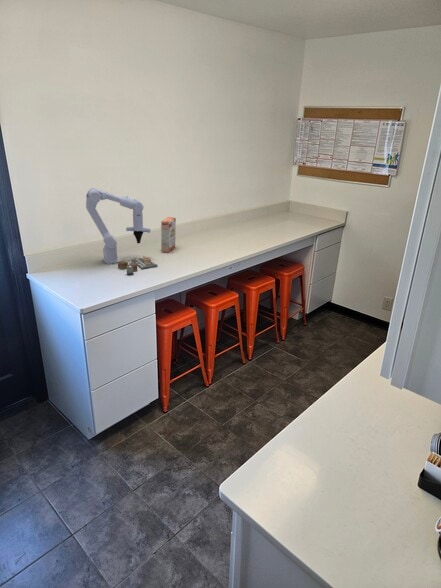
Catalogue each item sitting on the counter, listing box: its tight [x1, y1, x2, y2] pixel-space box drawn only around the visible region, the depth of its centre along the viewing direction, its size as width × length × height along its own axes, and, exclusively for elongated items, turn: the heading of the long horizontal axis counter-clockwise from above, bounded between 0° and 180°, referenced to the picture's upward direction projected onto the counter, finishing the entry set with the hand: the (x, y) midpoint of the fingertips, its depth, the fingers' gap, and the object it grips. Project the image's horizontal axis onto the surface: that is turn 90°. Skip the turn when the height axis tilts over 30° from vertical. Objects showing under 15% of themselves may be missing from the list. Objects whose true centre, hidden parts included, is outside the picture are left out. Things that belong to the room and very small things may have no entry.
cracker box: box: [160, 216, 177, 254], centre depth 265 cm, size 14×6×21 cm, turn 168°
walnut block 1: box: [117, 259, 129, 271], centre depth 233 cm, size 4×4×4 cm
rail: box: [131, 255, 159, 270], centre depth 241 cm, size 16×10×2 cm, turn 34°
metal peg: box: [126, 264, 134, 276], centre depth 224 cm, size 4×4×5 cm
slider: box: [141, 256, 152, 265], centre depth 238 cm, size 4×4×4 cm
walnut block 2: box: [128, 262, 138, 273], centre depth 230 cm, size 4×4×4 cm
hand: (138, 242), depth 245 cm, fingers closed
